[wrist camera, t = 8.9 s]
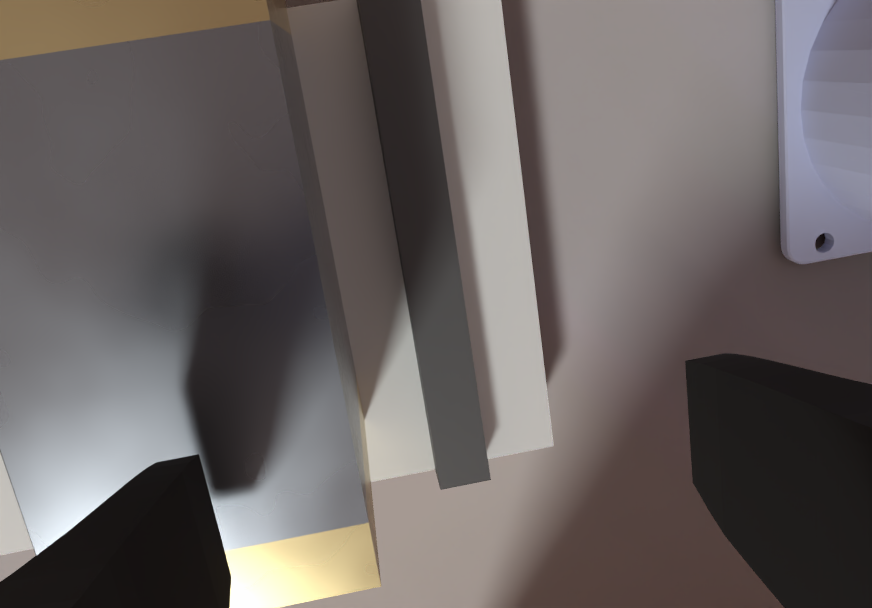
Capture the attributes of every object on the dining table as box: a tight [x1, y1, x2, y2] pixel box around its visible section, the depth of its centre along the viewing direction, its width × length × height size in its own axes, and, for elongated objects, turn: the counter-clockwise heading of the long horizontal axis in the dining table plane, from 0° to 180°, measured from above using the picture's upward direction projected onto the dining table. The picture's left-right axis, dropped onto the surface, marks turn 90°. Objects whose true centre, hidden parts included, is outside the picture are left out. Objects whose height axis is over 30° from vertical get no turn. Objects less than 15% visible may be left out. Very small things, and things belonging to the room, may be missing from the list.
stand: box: [0, 0, 554, 555], centre depth 19 cm, size 14×11×3 cm
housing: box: [0, 0, 381, 608], centre depth 15 cm, size 10×5×6 cm, turn 8°
